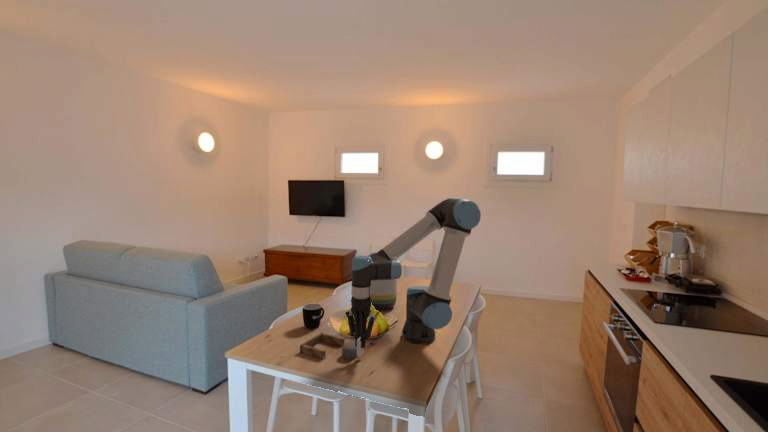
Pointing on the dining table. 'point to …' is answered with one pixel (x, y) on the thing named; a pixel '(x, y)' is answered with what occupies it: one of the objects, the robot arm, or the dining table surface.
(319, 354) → the corral
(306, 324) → the mug
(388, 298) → the vase
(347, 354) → the puck
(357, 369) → the dining table surface
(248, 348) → the dining table surface
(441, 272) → the robot arm
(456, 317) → the dining table surface
